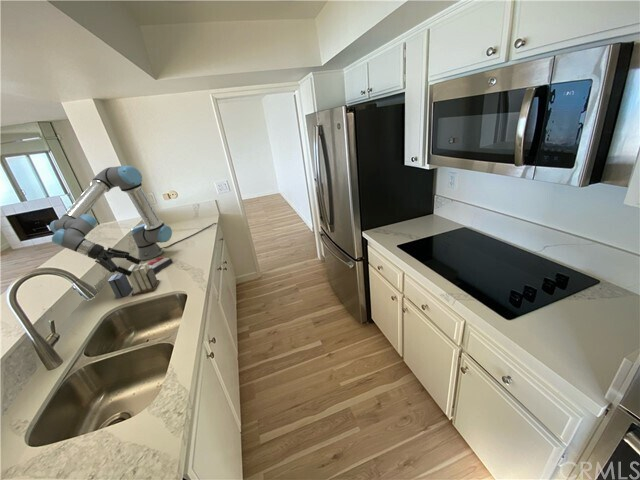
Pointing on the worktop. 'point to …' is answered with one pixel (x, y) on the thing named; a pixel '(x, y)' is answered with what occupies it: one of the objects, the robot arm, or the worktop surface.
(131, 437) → the worktop surface
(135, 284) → the white book
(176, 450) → the worktop surface
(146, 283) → the bookstand
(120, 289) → the grey books
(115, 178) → the robot arm
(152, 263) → the red and white box
